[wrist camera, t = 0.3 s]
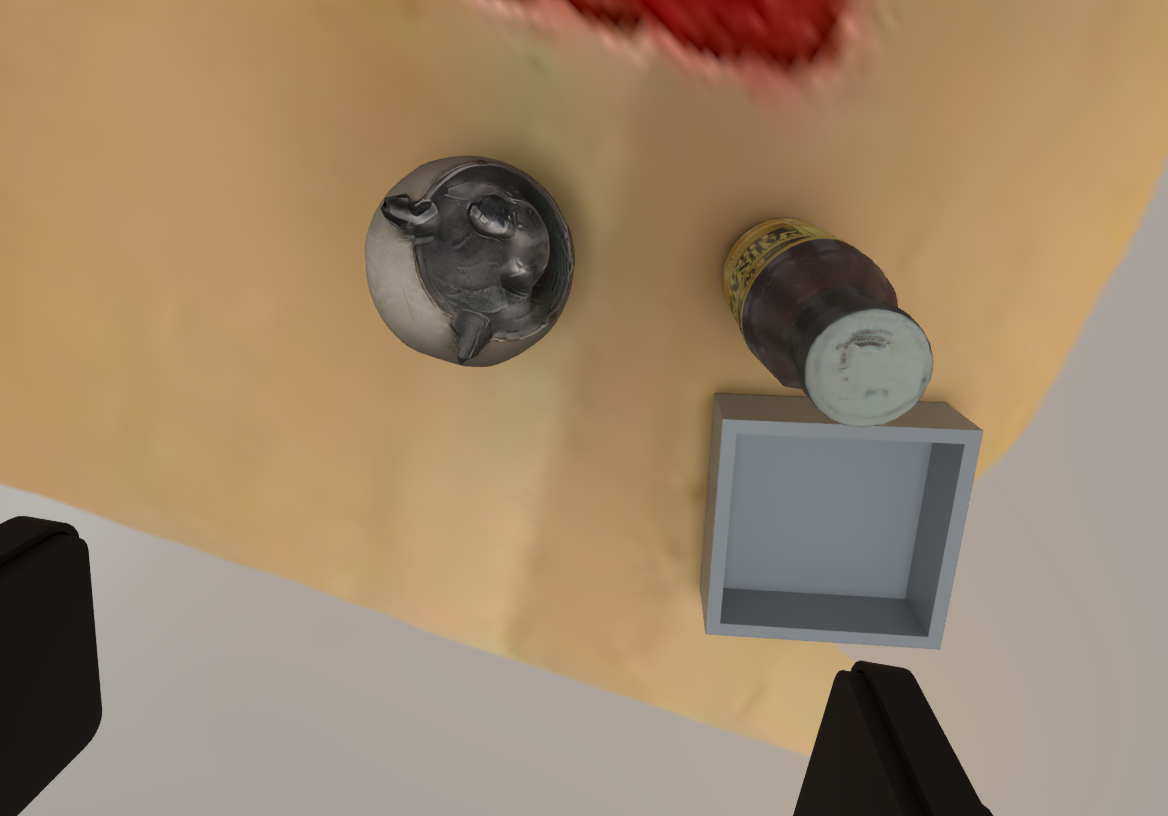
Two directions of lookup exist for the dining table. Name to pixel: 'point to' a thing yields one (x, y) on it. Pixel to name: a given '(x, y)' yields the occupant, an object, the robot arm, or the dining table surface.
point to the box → (834, 522)
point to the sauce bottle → (826, 322)
